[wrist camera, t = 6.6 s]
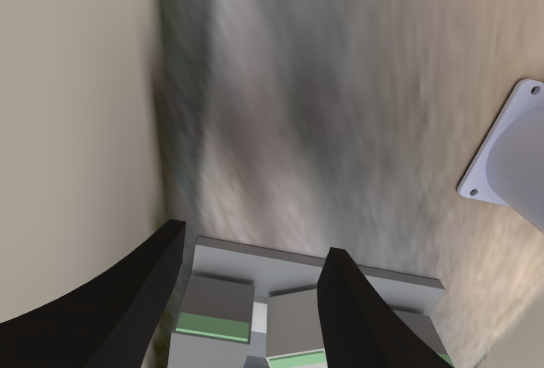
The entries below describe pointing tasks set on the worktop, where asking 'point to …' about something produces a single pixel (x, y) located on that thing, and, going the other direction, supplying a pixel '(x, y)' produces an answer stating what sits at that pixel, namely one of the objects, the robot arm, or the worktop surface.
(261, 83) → the worktop surface
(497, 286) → the worktop surface
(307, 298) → the module
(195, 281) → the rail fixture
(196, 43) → the worktop surface
